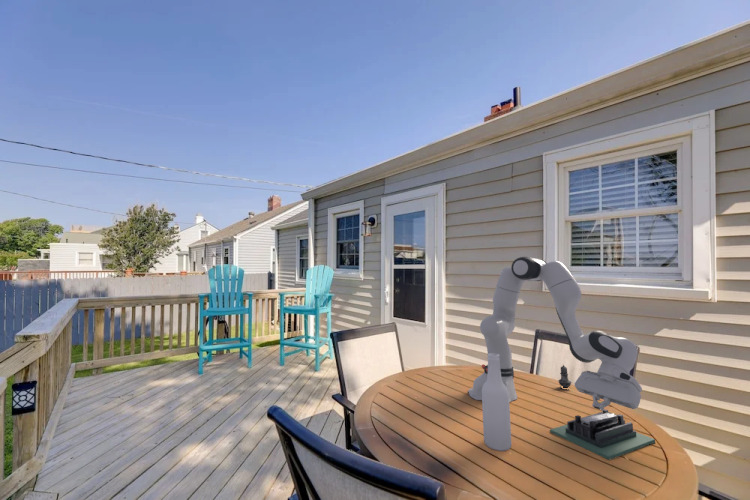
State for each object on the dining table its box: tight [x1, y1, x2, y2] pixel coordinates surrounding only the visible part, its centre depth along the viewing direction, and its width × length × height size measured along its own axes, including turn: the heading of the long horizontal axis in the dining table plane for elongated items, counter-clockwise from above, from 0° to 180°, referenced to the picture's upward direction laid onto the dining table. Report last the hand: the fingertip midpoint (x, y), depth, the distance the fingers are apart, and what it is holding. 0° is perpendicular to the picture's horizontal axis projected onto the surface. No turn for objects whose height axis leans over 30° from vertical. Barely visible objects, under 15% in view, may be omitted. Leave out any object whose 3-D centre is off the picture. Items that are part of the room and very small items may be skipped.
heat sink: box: [565, 408, 637, 448], centre depth 111 cm, size 20×12×6 cm, turn 114°
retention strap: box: [581, 411, 618, 425], centre depth 111 cm, size 17×3×1 cm, turn 114°
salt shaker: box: [557, 364, 572, 388], centre depth 162 cm, size 6×6×12 cm
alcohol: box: [481, 353, 512, 452], centre depth 107 cm, size 9×9×30 cm
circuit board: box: [549, 424, 656, 461], centre depth 111 cm, size 26×20×1 cm
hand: (597, 408), depth 112 cm, fingers closed
